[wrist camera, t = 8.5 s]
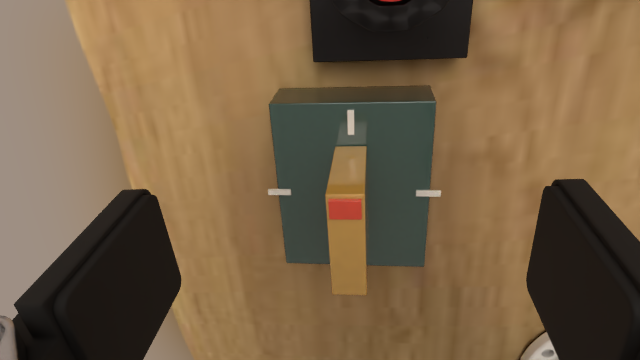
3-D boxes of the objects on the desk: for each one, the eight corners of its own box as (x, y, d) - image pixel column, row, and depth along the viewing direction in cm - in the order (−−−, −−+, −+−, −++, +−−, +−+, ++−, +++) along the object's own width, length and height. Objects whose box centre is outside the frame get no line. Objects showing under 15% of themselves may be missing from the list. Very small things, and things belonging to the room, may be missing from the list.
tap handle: (368, 234, 27) (366, 299, 22) (339, 233, 28) (331, 298, 23) (366, 145, 25) (364, 197, 20) (334, 146, 25) (324, 197, 20)
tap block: (428, 239, 31) (434, 269, 28) (285, 236, 32) (276, 264, 29) (440, 84, 26) (448, 102, 23) (269, 88, 27) (257, 105, 24)
